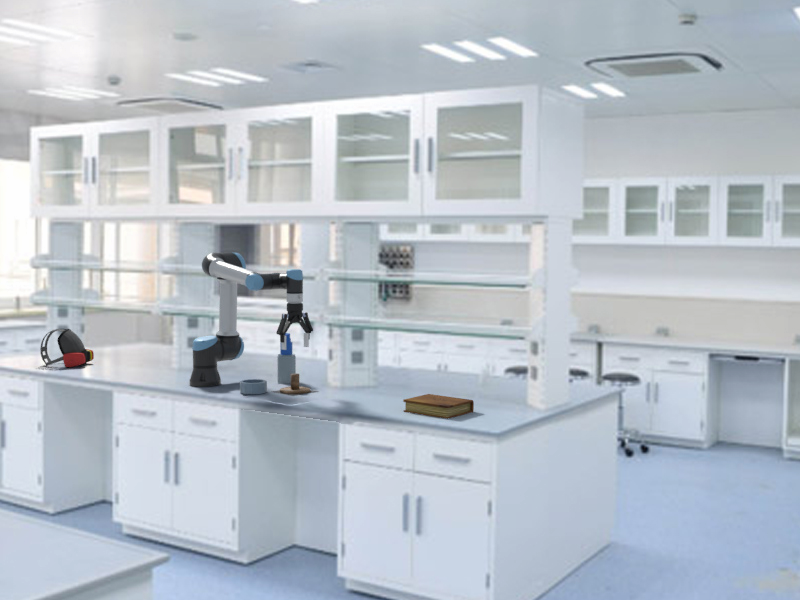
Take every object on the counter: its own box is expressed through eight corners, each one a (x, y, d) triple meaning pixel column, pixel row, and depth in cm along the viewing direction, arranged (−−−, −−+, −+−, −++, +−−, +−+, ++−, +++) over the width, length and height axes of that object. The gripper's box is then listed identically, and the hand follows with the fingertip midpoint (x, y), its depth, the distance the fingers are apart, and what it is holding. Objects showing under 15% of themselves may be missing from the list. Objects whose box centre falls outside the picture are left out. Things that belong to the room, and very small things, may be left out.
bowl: (234, 394, 422) (234, 381, 421) (255, 390, 431) (255, 378, 430) (251, 397, 414) (250, 384, 413) (271, 394, 423) (271, 381, 422)
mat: (270, 393, 425) (270, 391, 425) (296, 389, 436) (296, 387, 436) (293, 397, 414) (293, 395, 414) (319, 393, 425) (319, 391, 425)
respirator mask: (84, 363, 497) (64, 322, 496) (46, 382, 499) (26, 341, 498) (99, 358, 519) (80, 318, 518) (63, 376, 521) (43, 336, 520)
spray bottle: (278, 382, 457) (278, 332, 455) (296, 382, 457) (296, 332, 455) (276, 385, 448) (276, 334, 446) (294, 385, 448) (294, 334, 446)
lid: (273, 391, 425) (273, 374, 424) (296, 387, 435) (296, 370, 434) (293, 395, 415) (293, 377, 414) (316, 391, 425) (316, 374, 425)
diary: (473, 413, 384) (473, 399, 383) (447, 420, 369) (448, 406, 369) (429, 406, 398) (429, 393, 398) (403, 412, 383) (403, 399, 383)
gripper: (279, 304, 410) (279, 351, 412) (320, 301, 428) (320, 346, 430) (268, 303, 415) (268, 349, 417) (309, 300, 433) (310, 345, 435)
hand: (295, 348), depth 423 cm, fingers open, 13 cm apart
